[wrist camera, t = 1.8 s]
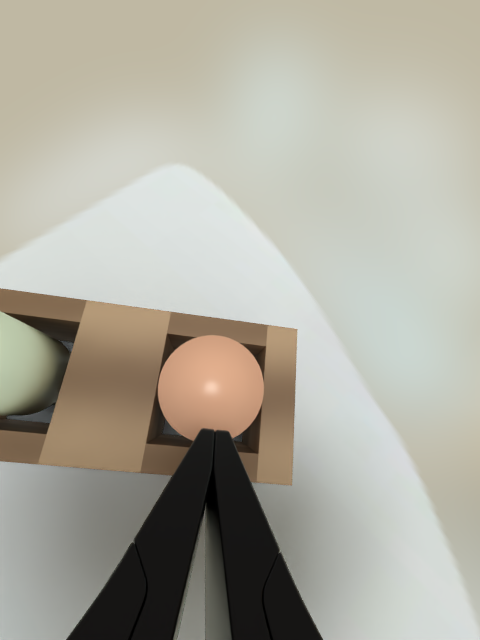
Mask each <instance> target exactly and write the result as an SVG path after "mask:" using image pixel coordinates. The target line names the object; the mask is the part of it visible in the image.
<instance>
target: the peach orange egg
mask: <svg viewBox="0 0 480 640" xmlns="http://www.w3.org/2000/svg"><path fill="white" fill-rule="evenodd" d="M263 395H264V382H263V376H262V372H261V369H260V367H259V364H258V363H257V361H256V359H255V358H254V356H253V355H252V354H251V353H250V351H249V350H248V349H247V348H245V347H244V346H243V345H241V344H240V343H238V342H237V341H235V340H233V339H230V338H227V337H223V336H217V335H207V336H201V337H197V338H194V339H191V340H189V341H187V342H185V343H184V344H182V345H181V346H179V347H178V348H177V349H176V350H175V351H174V352H173V353H172V354H171V355H170V357H169V358H168V359H167V361H166V362H165V364H164V366H163V368H162V371H161V374H160V377H159V383H158V398H159V404H160V407H161V410H162V412H163V415H164V417H165V418H166V420H167V421H168V423H169V424H170V425H171V426H172V428H173V429H175V430H176V431H177V432H178V433H179V434H181V435H182V436H184V437H186V438H188V439H190V440H193V441H194V439H195V438H196V436H197V434H198V433H199V431H200V430H201V429H202V428H208V429H214V430H215V431H216V430H227V431H229V432H230V434H231V437H232V438H234V437H236V436H238V435H239V434H241V433H242V432H243V431H245V430H246V429H247V428H248V427H249V426H250V425H251V423H252V422H253V421H254V419H255V418H256V416H257V414H258V412H259V410H260V407H261V404H262V401H263Z"/></svg>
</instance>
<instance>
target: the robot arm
mask: <svg viewBox="0 0 480 640" xmlns="http://www.w3.org/2000/svg"><path fill="white" fill-rule="evenodd" d="M205 506H206V509H205ZM204 511H205V640H323V638H322V637H321V635H320V633H319V631H318V629H317V627H316V625H315V623H314V621H313V619H312V617H311V615H310V614H309V612H308V610H307V608H306V606H305V604H304V602H303V600H302V598H301V596H300V594H299V591H298V589H297V587H296V585H295V583H294V580H293V578H292V576H291V574H290V572H289V569H288V567H287V565H286V562H285V560H284V558H283V555H282V553H279V551H280V549H279V546H278V544H277V542H276V539H275V537H274V535H273V532H272V530H271V528H270V525H269V523H268V521H267V518H266V516H265V514H264V511H263V509H262V507H261V504H260V502H259V500H258V497H257V495H256V493H255V490H254V488H253V486H252V483H251V481H250V479H249V476H248V474H247V472H246V469H245V467H244V465H243V462H242V460H241V458H240V455H239V453H238V451H237V448H236V446H235V444H234V441H233V439H232V437H231V434H230V432H229V431H227V430H216V431H215V430H214V429H208V428H202V429H201V430H200V431H199V433H198V434H197V436H196V438H195V439H194V441H193V443H192V444H191V446H190V448H189V449H188V451H187V453H186V454H185V456H184V458H183V459H182V461H181V462H180V464H179V466H178V467H177V469H176V471H175V472H174V474H173V476H172V477H171V479H170V481H169V482H168V484H167V486H166V487H165V489H164V491H163V492H162V494H161V495H160V497H159V499H158V500H157V502H156V504H155V505H154V507H153V509H152V510H151V512H150V514H149V515H148V517H147V519H146V520H145V522H144V524H143V525H142V527H141V528H140V530H139V532H138V533H137V535H136V537H135V538H134V543H131V545H130V546H129V548H128V550H127V551H126V553H125V555H124V556H123V558H122V559H121V561H120V563H119V564H118V566H117V567H116V569H115V570H114V572H113V574H112V575H111V577H110V578H109V580H108V581H107V583H106V584H105V586H104V588H103V589H102V590H101V592H100V593H99V595H98V596H97V598H96V599H95V600H94V602H93V603H92V605H91V606H90V608H89V609H88V610H87V612H86V613H85V615H84V616H83V617H82V619H81V620H80V622H79V623H78V624H77V626H76V627H75V628H74V630H73V631H72V632H71V634H70V635H69V636H68V638H67V639H66V640H177V637H178V632H179V628H180V623H181V619H182V614H183V609H184V605H185V600H186V595H187V591H188V586H189V582H190V577H191V572H192V568H193V563H194V558H195V554H196V549H197V545H198V540H199V535H200V531H201V526H202V521H203V516H204ZM278 553H279V554H278Z"/></svg>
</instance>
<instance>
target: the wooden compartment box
mask: <svg viewBox="0 0 480 640" xmlns="http://www.w3.org/2000/svg"><path fill="white" fill-rule="evenodd" d="M0 311H1V312H3V313H5V314H7V315H9V316H11V317H13V318H15V319H17V320H19V321H21V322H23V323H25V324H27V325H29V326H31V327H33V328H35V329H37V330H39V331H41V332H43V333H45V334H47V335H49V336H51V337H53V338H55V339H57V340H61V341H69V342H74V345H73V349H72V352H71V355H70V359H69V362H68V365H67V369H66V372H65V375H64V379H63V382H62V385H61V389H60V392H59V395H58V399H57V402H56V405H55V409H54V412H53V415H52V419H51V422H50V423H42V422H32V421H22V420H11V419H6V417H7V416H0V461H5V462H17V463H29V464H41V465H53V466H65V467H77V468H89V469H101V470H113V471H125V472H137V473H149V474H161V475H173V474H174V472H175V471H176V469H177V467H178V466H179V464H180V462H181V461H182V459H183V458H184V456H185V454H186V453H187V451H188V449H189V448H190V446H191V444H192V443H193V440H190V439H188V438H186V437H184V436H177V435H167V434H162V433H163V427H164V421H165V417H164V415H163V412H162V410H161V407H160V404H159V398H158V383H159V377H160V374H161V371H162V368H163V366H164V364H165V362H166V361H167V359H168V358H169V357H170V355H171V354H172V353H173V352H174V351H175V350H176V349H177V348H178V347H179V346H181V345H182V344H184V343H185V342H187V341H189V340H191V339H194V338H197V337H201V336H207V335H217V336H223V337H227V338H230V339H233V340H235V341H237V342H238V343H240V344H241V345H243V346H244V347H245V348H247V349H248V350H249V351H250V353H251V354H252V355H253V356H254V358H255V359H256V361H257V363H258V364H259V367H260V369H261V372H262V376H263V382H264V395H263V401H262V404H261V407H260V410H259V412H258V414H257V416H256V418H255V419H254V421H253V422H252V423H251V425H250V426H249V427H248V428H247V429H246V430H245V431H243V436H242V442H239V441H234V444H235V446H236V448H237V451H238V453H239V455H240V458H241V460H242V462H243V465H244V467H245V469H246V472H247V474H248V476H249V479H250V481H251V482H257V483H269V484H281V485H292V467H293V438H294V409H295V380H296V351H297V329H293V328H285V327H278V326H271V325H264V324H256V323H249V322H242V321H234V320H227V319H220V318H212V317H205V316H198V315H190V314H183V313H176V312H169V311H161V310H154V309H147V308H139V307H132V306H125V305H117V304H110V303H103V302H95V301H88V300H81V299H74V298H66V297H59V296H52V295H44V294H37V293H30V292H22V291H15V290H8V289H0Z"/></svg>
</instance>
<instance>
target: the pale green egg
mask: <svg viewBox="0 0 480 640" xmlns="http://www.w3.org/2000/svg"><path fill="white" fill-rule="evenodd" d="M69 359H70V352H69V351H68V349H67V348H66V347H65V345H64V344H62V343H61V342H60V341H58V340H57V339H55V338H53V337H51V336H49V335H47V334H45V333H43V332H41V331H39V330H37V329H35V328H33V327H31V326H29V325H27V324H25V323H23V322H21V321H19V320H17V319H15V318H13V317H11V316H9V315H7V314H5V313H3V312H1V311H0V416H9V415H29V414H33V413H36V412H39V411H42V410H44V409H46V408H47V407H49V406H51V405H52V404H53V403H55V402H56V401H57V399H58V395H59V392H60V389H61V385H62V382H63V379H64V375H65V372H66V369H67V365H68V362H69Z"/></svg>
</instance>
